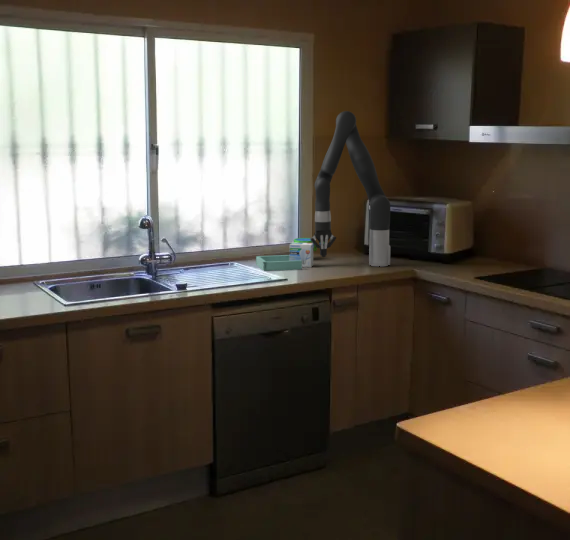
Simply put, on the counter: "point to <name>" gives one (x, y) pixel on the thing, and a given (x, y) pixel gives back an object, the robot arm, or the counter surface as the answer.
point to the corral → (277, 263)
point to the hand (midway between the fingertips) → (323, 256)
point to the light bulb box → (302, 253)
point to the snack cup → (305, 240)
